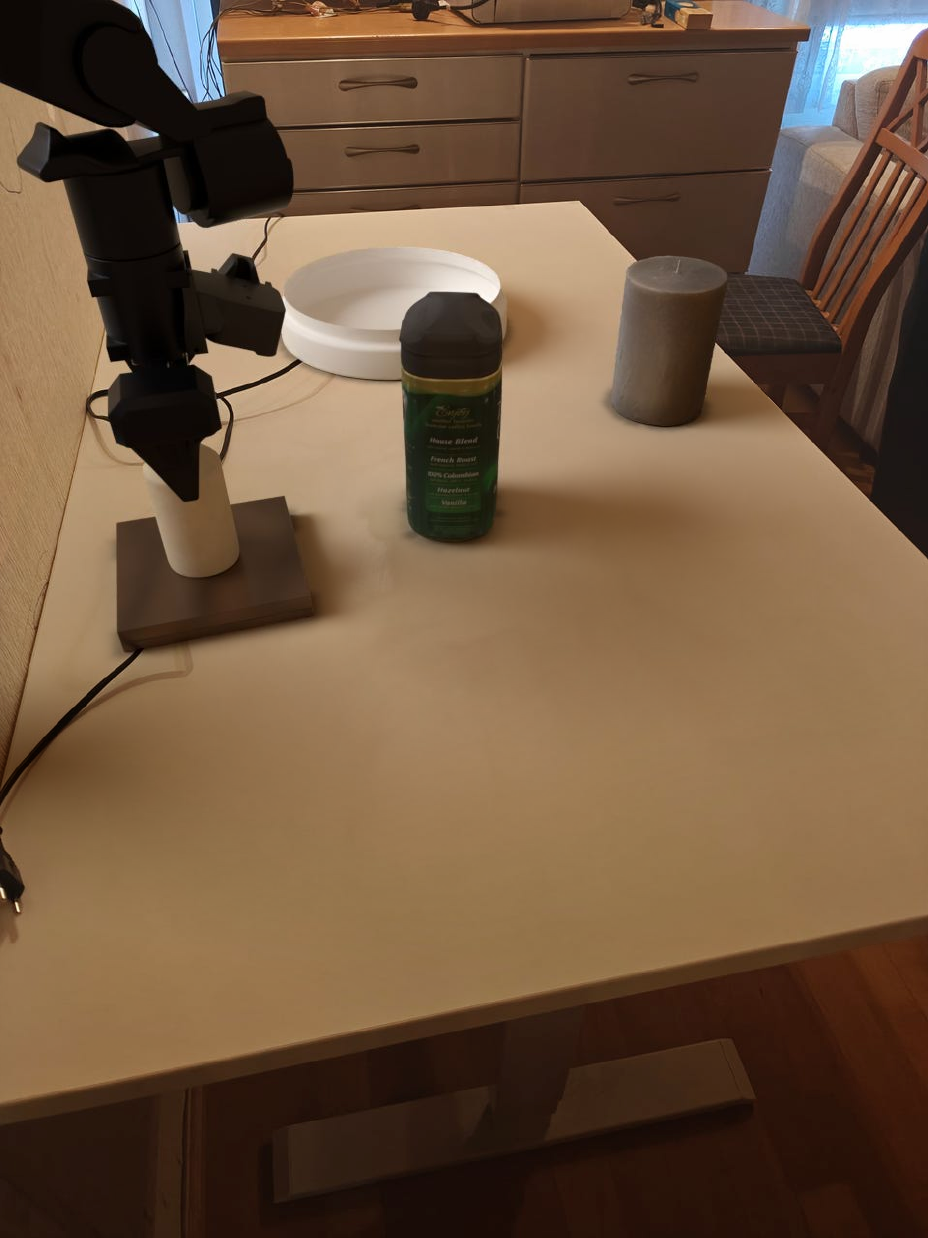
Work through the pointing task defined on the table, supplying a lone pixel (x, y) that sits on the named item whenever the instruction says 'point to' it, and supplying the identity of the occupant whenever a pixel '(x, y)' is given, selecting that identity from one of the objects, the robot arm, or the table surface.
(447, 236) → the table surface
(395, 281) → the round white dish
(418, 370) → the coffee jar
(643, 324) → the pillar candle
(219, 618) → the dark wooden base block
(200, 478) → the candle
